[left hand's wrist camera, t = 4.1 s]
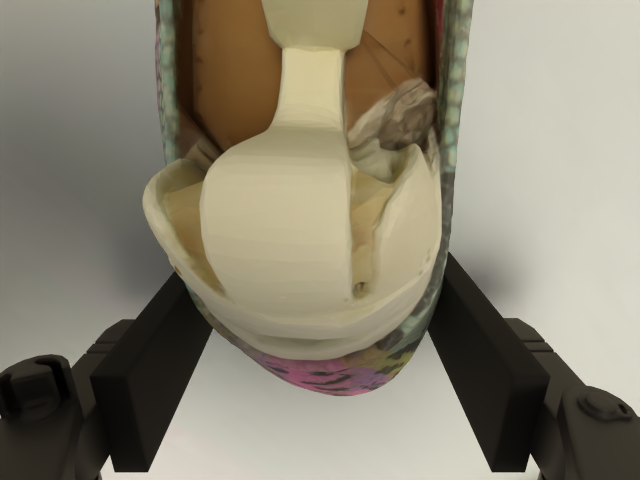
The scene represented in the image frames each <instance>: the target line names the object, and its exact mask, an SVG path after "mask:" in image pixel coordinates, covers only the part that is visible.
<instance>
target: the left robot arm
mask: <svg viewBox="0 0 640 480" xmlns="http://www.w3.org/2000/svg"><path fill="white" fill-rule="evenodd" d="M212 330H213V327H212V326H211V325H210V324H209V323H208V321H207V320H206V319H205V318H204V316H203V315H202V314H201V312H200V311H199V310H198V309H197V307H196V305H195V303H194V302H193V300H192V298H191V296H190V294H189V292H188V289H187V287H186V285H185V283H184V281H183V279H182V278H181V277H180V276H179V275H178V274H177V272H176V271H175V272H174V273H173V274H172V275H171V277H170V278H169V279H168V280H167V281H166V283H165V284H164V285H163V286H162V288H161V289H160V290H159V291H158V292H157V294H156V295H155V296H154V297H153V299H152V300H151V301H150V302H149V303H148V305H147V306H146V307H145V308H144V310H143V311H142V312H141V313H140V315H139V316H138V317H137V318H136V319H122V320H121V321H119V322H118V323H116V324H114V325H113V326H111V327H110V328H108V329H106V330H105V331H104V333H103V334H102V335H101V336H100V337H99V338H98V339H97V340H96V341H95V342H96V343H95V344H93V345H92V346H91V347H90V348H89V349H88V350H87V353H86V354H84V355H83V356H82V357H81V358H80V359H79V360H78V361H77V362H76V364H75V365H74V366H73V367H72V368H70V365H69V362H68V360H67V359H66V358H64V357H63V356H60V355H52V354H51V355H42V356H36V357H33V358H30V359H26V360H23V361H21V362H19V363H17V364H15V365H12V366H10V367H8V368H7V369H5V370H4V371H3V372H1V373H0V415H1V419H0V480H102V476H101V473H100V470H101V469H102V467H103V465H104V463H105V462H106V460H107V458H108V457H109V455H110V456H111V460H112V464H113V468H114V471H115V472H148V471H149V469H150V466H151V464H152V462H153V460H154V458H155V455H156V453H157V451H158V449H159V447H160V444H161V442H162V440H163V438H164V436H165V433H166V431H167V429H168V427H169V424H170V422H171V420H172V418H173V416H174V413H175V411H176V409H177V407H178V405H179V402H180V400H181V398H182V396H183V394H184V391H185V389H186V387H187V385H188V383H189V380H190V378H191V376H192V374H193V372H194V369H195V367H196V365H197V363H198V361H199V358H200V356H201V354H202V352H203V350H204V347H205V345H206V343H207V341H208V339H209V336H210V334H211V332H212ZM427 330H428V332H429V335H430V337H431V339H432V341H433V343H434V346H435V348H436V350H437V352H438V354H439V357H440V359H441V361H442V363H443V365H444V368H445V370H446V372H447V374H448V376H449V379H450V381H451V383H452V385H453V388H454V390H455V392H456V394H457V396H458V399H459V401H460V403H461V405H462V407H463V410H464V412H465V414H466V416H467V418H468V421H469V423H470V425H471V427H472V429H473V432H474V434H475V436H476V438H477V440H478V443H479V445H480V447H481V449H482V451H483V454H484V456H485V458H486V460H487V462H488V465H489V467H490V469H491V471H492V472H525V470H526V467H527V463H528V459H529V455H530V453H531V455H532V457H533V458H534V460H535V462H536V464H537V465H538V467H539V469H540V473H539V476H538V480H640V417H638V416H637V415H636V413H635V412H634V411H633V409H632V408H631V407H630V406H629V405H627V404H626V403H625V402H624V401H622V400H621V399H620V398H618V397H616V396H614V395H612V394H611V393H609V392H607V391H604V390H601V389H598V388H595V387H592V386H586V385H585V384H584V383H583V382H582V381H581V380H580V379H579V377H578V376H577V375H576V374H575V373H574V372H573V371H572V370H571V369H570V368H569V366H568V365H567V364H566V363H565V362H564V361H563V360H562V359H561V358H560V357H559V355H558V354H557V353H554V351H553V349H552V348H551V347H550V346H549V344H548V343H547V342H545V340H544V339H543V338H542V337H541V336H540V335H539V333H538V332H537V331H536V330H535V329H534V328H532V327H531V326H529V325H528V324H526V323H524V322H523V321H521V320H520V319H518V318H503V317H502V316H501V315H500V314H499V312H498V311H497V310H496V309H495V307H494V306H493V305H492V304H491V303H490V301H489V300H488V299H487V298H486V296H485V295H484V294H483V293H482V292H481V290H480V289H479V288H478V287H477V285H476V284H475V283H474V282H473V280H472V279H471V278H470V277H469V276H468V274H467V273H466V272H465V271H464V269H463V268H462V267H461V266H460V265H459V263H458V262H457V261H456V260H455V258H454V257H453V256H452V255H451V253H450V252H448V254H447V261H446V266H445V269H444V276H443V284H442V289H441V293H440V296H439V299H438V302H437V305H436V308H435V311H434V313H433V316H432V318H431V321H430V323H429V326H428V328H427Z"/></svg>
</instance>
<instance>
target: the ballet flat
mask: <svg viewBox="0 0 640 480" xmlns="http://www.w3.org/2000/svg"><path fill="white" fill-rule="evenodd" d="M473 2H474V0H155V14H156V46H155V58H156V80H157V97H158V109H159V117H160V124H161V132H162V139H163V147H164V155H165V162H166V167H165V168H163V169H162V170H161V171H159V172H158V173H156V174H155V175H154V176H153V177H152V178H151V179H150V180H149V182H148V184H147V186H146V187H145V190H144V194H143V198H142V204H143V210H144V213H145V216H146V219H147V221H148V223H149V226H150V228H151V230H152V231H153V233H154V235H155V237H156V239H157V241H158V242H159V244H160V245H161V246H162V248H163V249H164V251H165V252H166V253H167V255H168V259H169V262H170V264H171V265H172V267H173V268H174V270H175V271H176V272H177V274H178V275H179V276H180V277H181V278H182V279H183V281H184V283H185V285H186V287H187V289H188V292H189V294H190V296H191V298H192V300H193V302H194V303H195V305H196V307H197V309H198V310H199V311H200V312H201V314H202V315H203V316H204V318H205V319H206V320H207V321H208V323H209V324H210V325H211V326H212V327H213V328H214V329H215V330H216V331H217V332H218V333H219V334H220V335H222V336H223V337H224V338H226V339H227V340H228V341H229V342H230V343H231V344H233V345H235V346H237V347H238V348H240V349H241V350H242V351H243V352H244V353H245V354H247V355H248V356H249V357H251V358H252V359H253V360H255V361H256V362H257V363H258V364H259V365H261V366H262V367H263V368H265V369H266V370H268V371H269V372H271V373H273V374H274V375H276V376H277V377H279V378H281V379H283V380H284V381H286V382H288V383H290V384H292V385H295V386H298V387H302V388H305V389H308V390H311V391H315V392H319V393H323V394H328V395H334V396H353V395H358V394H363V393H366V392H370V391H372V390H375V389H377V388H379V387H381V386H383V385H384V384H386V383H387V382H389V381H390V380H392V379H393V378H394V377H395V376H396V375H397V374H398V373H399V372H400V370H401V369H402V368H403V367H404V366H405V365H406V364H407V362H408V361H409V360H410V358H411V357H412V355H413V354H414V352H415V350H416V349H417V347H418V345H419V344H420V342H421V340H422V338H423V336H424V334H425V332H426V331H427V328H428V326H429V323H430V321H431V318H432V316H433V313H434V311H435V308H436V305H437V302H438V299H439V296H440V293H441V289H442V284H443V276H444V269H445V266H446V261H447V254H448V247H449V238H450V233H451V218H452V214H453V194H454V179H455V168H456V157H457V143H458V134H459V124H460V113H461V104H462V98H463V93H464V84H465V74H466V56H467V50H468V44H469V31H470V26H471V19H472V8H473Z"/></svg>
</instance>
